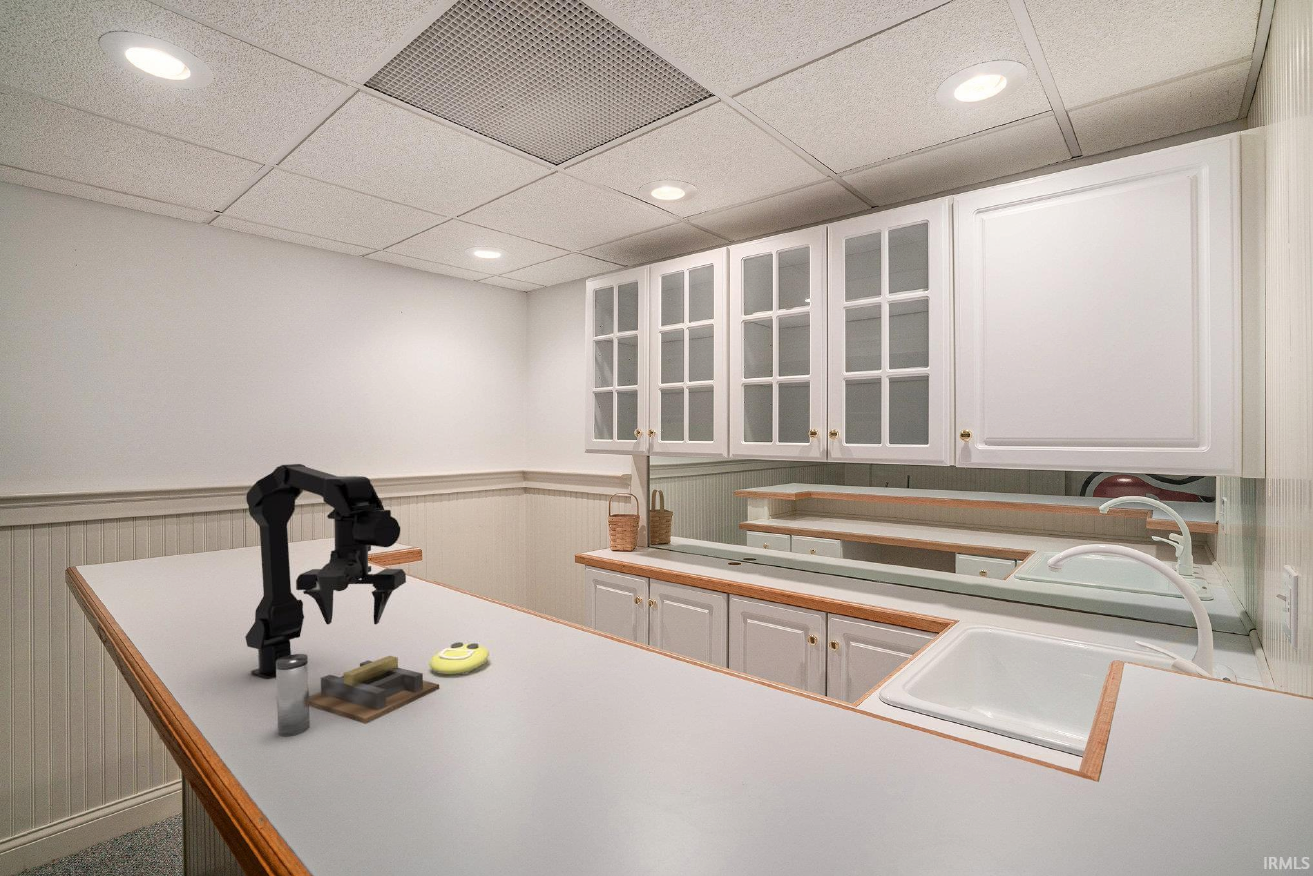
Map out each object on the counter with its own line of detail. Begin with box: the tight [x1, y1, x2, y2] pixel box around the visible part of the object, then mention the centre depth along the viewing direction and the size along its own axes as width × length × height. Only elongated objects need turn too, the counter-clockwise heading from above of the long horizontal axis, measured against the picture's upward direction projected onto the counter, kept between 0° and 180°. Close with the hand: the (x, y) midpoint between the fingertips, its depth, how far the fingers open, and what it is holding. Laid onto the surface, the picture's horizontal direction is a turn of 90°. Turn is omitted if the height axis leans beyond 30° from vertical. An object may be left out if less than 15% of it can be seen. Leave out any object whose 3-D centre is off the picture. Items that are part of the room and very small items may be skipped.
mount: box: [309, 659, 440, 724], centre depth 118 cm, size 18×16×4 cm
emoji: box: [429, 642, 490, 675], centre depth 132 cm, size 4×12×12 cm
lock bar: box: [343, 655, 399, 686], centre depth 118 cm, size 2×10×2 cm, turn 151°
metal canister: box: [275, 653, 311, 737], centre depth 105 cm, size 5×5×12 cm
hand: (352, 623), depth 120 cm, fingers open, 9 cm apart
